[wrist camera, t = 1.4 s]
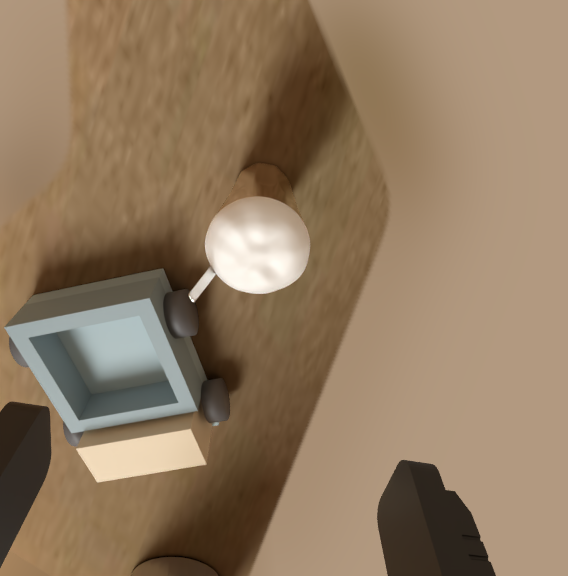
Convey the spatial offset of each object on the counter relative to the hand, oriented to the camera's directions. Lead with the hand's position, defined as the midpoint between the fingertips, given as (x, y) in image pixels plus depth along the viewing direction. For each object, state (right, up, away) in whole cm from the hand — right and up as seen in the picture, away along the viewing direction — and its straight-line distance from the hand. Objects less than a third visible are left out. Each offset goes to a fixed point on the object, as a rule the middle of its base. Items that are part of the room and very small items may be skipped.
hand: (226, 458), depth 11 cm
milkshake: (0, +10, +17) cm, 19 cm away
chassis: (-9, -1, +23) cm, 24 cm away
